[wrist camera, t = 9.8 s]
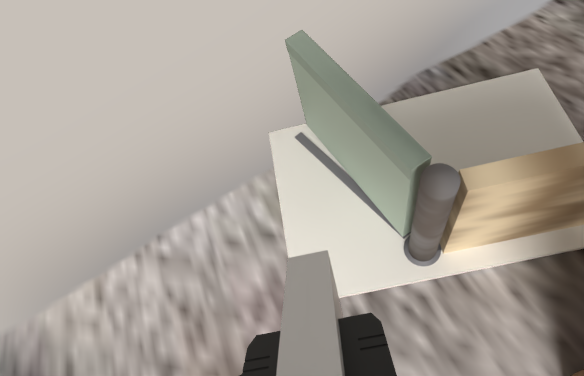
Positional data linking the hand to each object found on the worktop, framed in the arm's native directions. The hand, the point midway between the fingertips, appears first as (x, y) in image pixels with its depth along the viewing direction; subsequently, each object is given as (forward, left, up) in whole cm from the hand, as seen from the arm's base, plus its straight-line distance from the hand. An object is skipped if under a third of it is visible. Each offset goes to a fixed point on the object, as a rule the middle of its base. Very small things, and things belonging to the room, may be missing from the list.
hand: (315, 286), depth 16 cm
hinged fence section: (-4, -11, -12) cm, 17 cm away
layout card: (-9, -10, -13) cm, 18 cm away
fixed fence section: (-13, -5, -13) cm, 19 cm away
